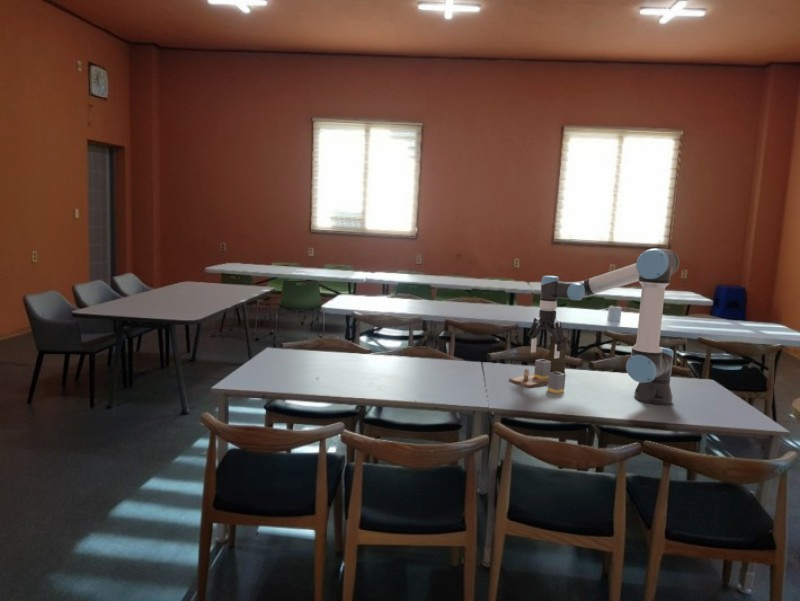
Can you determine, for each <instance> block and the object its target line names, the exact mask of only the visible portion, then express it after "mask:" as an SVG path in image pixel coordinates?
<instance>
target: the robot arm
mask: <svg viewBox="0 0 800 601" xmlns="http://www.w3.org/2000/svg"><path fill="white" fill-rule="evenodd" d="M679 265H680V258H679V256H678V255H677V253H675V251H673V250H672V249H668V248H650V249H647V250H645V251H643V252H642V253H641V254H640V255H639V256H638V257H637V260H636V263H635V262H634V263H633V264H630V265H627V266H623V267H621V268H617V269H614V270H612V271H608V272H606V273H603V274H600V275H596V276H593V277H590V278H587V279H583V280H581V281H580V280H579V281H572V282H570V281H569V282H568V281H560V279H559V278H560V277H559V276H557V275H556V276H555V275H543V276H542V278H541V284H540V297H539V298H540V300H539V311H538V313H539V314H538V317H535V318H533V323H532V324H531V326H530V328H529V330H528V333H527V337H529V338H530V343H529V344H530V353H532V354H533V353H537V342H538V341H537V340H538V338H537V336H538V335H539V334H540V333H541V332H542V331H543V330H544V331H549V333H550V334H551V336H553V338H554V339H555V341H556V344H555V352H554V358H555V359H556V358H559V355H560V351H561V345H562V344H564V343H566V341H565V338H564V337H565V336H564V332H563V329H562V322H561V321H556V319H557V311H556V310H557V307H558V306H557V305H558V304H557V303H558V299H563V300H564V299H566V300H572V301H581V300H583V298H588V297H589V298H590V297H591V296H594V295H597V294H599V293H603V292H606V291H609V290H612V289H616V288H619V287H623V286H626V285H629V284H633V283H637V282H638V283H639V284H640V285H641V293H640V295H641V296H640V302H639V303H640V304H639V312H638V313H639V315H638V324H637V333H636V334H637V335H636V342H635V344H634V345H633V346H631V353H630V357H629V358H628V359H627V361H626V364H625V369H626V372H627V375H628V376H629V377H630V379H632V380H633V381H634V382H637V383H638V384H637V386H636V388H635V390H634V395H633V396H634V398H635V399H637V400H639V401H640V402H641V401H642V402H644V403H648V404H654V405H661V406H662V405H663V406H665V405H671V404H672V403H673V394H672V388H671V387H672V386H671V376H672V370H673V361H674V350H673V349H671V348H669V347H662V346H660V340H661V328H662V322H663V312H664V311H663V310H664V301H665V292H666V287H667V286H669V285H670V283H671V278H672V277H671V276H672V275H674V274H675V273H676V272H677V271H678V269H679V268H680V267H679ZM566 344H567V343H566Z"/></svg>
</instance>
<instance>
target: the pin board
mask: <svg viewBox="0 0 800 601" xmlns="http://www.w3.org/2000/svg"><path fill="white" fill-rule="evenodd" d="M523 372H524V373H523V375H521V376H515V377H509V378H508V381H509V382H511V383H514V384H517V385H520V386H523V387H526V388H529V389H530V388H535V387H539V386H546V385H548V379H549V378H548V379H543V380H542V379H539V378H536V377H534V373H532V374H530V369H528V368H525V369H524V371H523Z"/></svg>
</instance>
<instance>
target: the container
mask: <svg viewBox="0 0 800 601" xmlns="http://www.w3.org/2000/svg"><path fill="white" fill-rule="evenodd" d="M564 338H565V341H566V343H564V344H562V345H561V351H560V355H559V358H556V359H555V358H554V352H555V344H556V341H555V339H554V338H553V336H552V335H551V336H549V339H550V343H549V354H548V361H551V368H550V372H556V371H557V372H560V373H563V374H566V368H565V367H566V354H567V344H568V340H569V338H568V337H566V336H564Z"/></svg>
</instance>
